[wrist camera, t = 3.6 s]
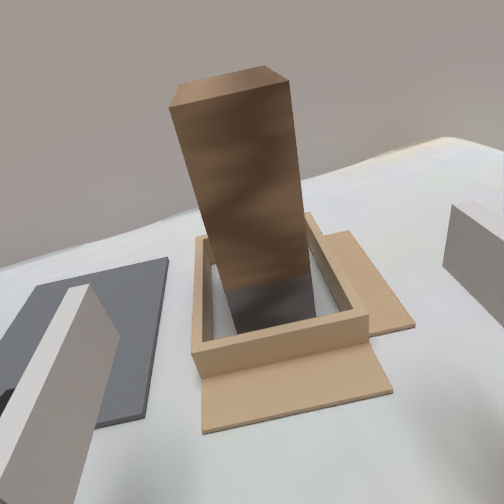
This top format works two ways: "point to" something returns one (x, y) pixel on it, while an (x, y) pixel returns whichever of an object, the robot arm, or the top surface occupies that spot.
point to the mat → (122, 316)
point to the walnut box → (249, 192)
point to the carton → (297, 342)
